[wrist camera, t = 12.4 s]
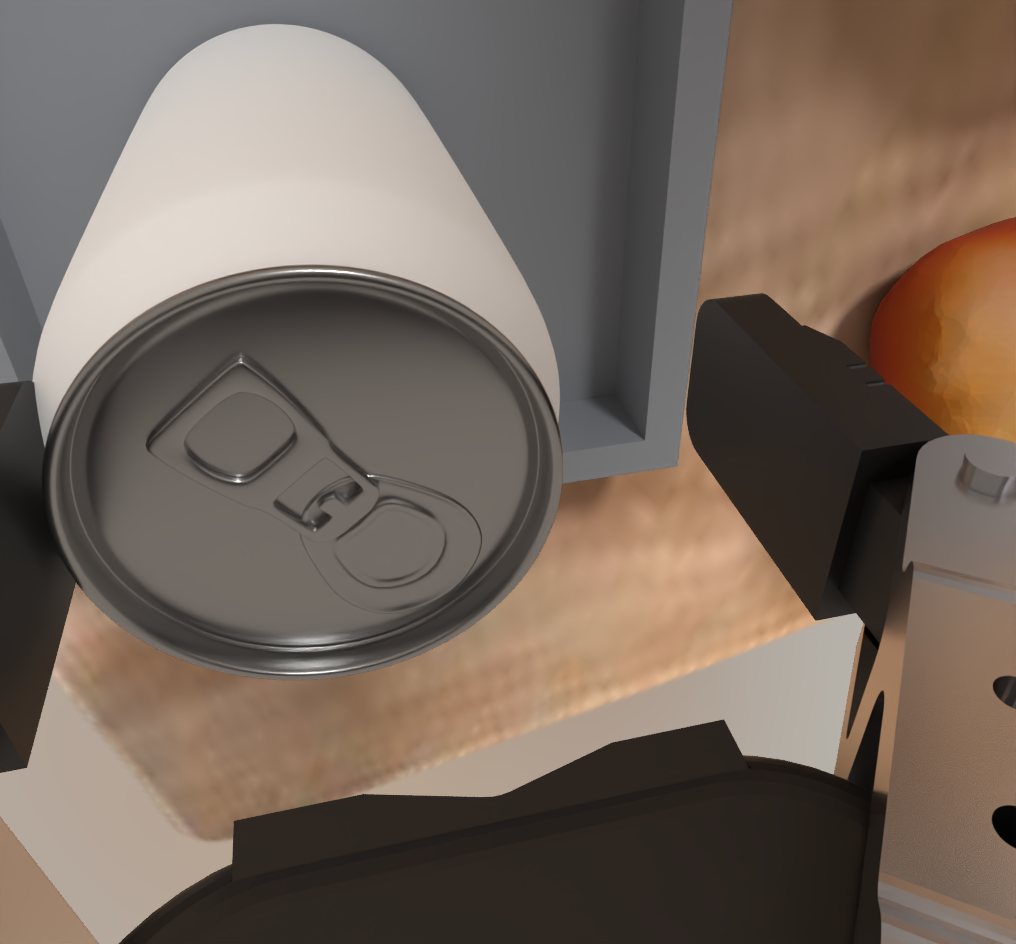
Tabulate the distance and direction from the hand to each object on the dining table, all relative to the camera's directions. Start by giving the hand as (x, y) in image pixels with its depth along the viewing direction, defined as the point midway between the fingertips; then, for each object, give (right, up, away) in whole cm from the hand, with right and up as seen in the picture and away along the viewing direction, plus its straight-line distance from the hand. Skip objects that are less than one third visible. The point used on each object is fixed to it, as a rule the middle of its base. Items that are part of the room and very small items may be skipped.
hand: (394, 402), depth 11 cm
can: (-3, +6, +8) cm, 11 cm away
